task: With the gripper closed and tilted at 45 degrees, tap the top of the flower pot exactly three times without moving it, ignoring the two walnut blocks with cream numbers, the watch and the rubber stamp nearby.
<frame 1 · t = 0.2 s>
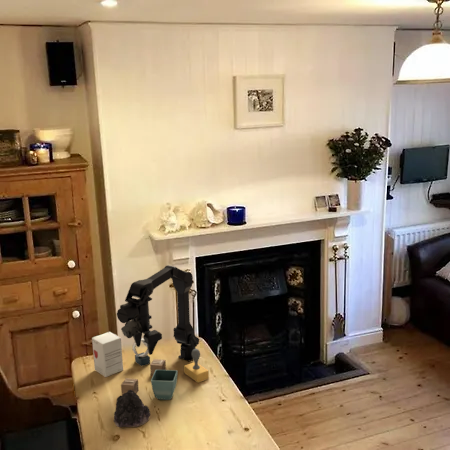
hand: (144, 350, 226), 14 cm above the table, tool pointing down, fingers open, 9 cm apart
watch: (142, 362, 246), on the table
numbered block seven: (158, 373, 237), on the table
numbered block one: (130, 393, 222), on the table
flower pot: (165, 397, 219), on the table
rubber stamp: (196, 376, 234), on the table
crystal cluster: (131, 419, 205), on the table
supplement box: (108, 370, 241), on the table
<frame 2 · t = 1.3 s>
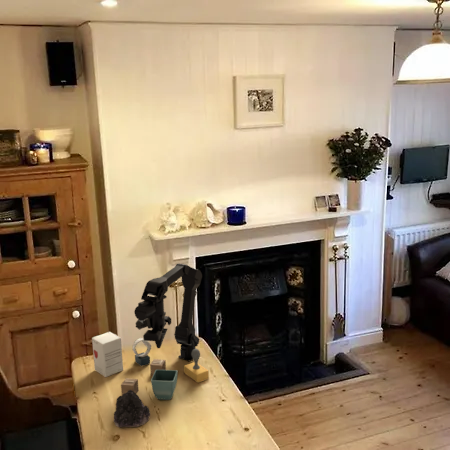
hand: (158, 347, 231), 13 cm above the table, tool pointing down, fingers closed
nothing on the table moved.
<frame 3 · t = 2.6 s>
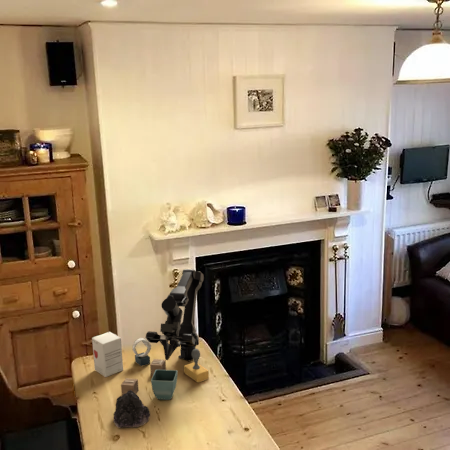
hand: (166, 359, 219), 14 cm above the table, tool tilted 45°, fingers closed
nothing on the table moved.
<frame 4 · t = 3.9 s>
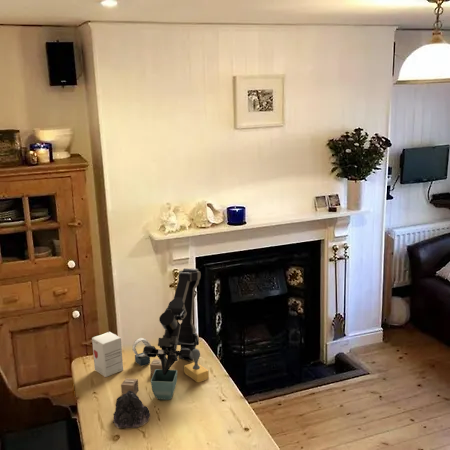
hand: (164, 374, 216), 9 cm above the table, tool tilted 45°, fingers closed, pressing on flower pot
flower pot: (165, 396, 219), on the table, touching gripper
everything else where it was.
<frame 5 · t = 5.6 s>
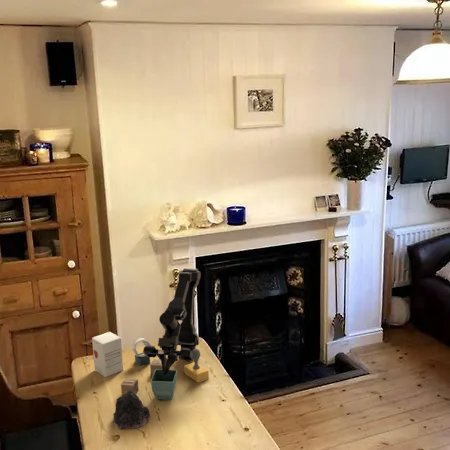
hand: (164, 374, 216), 9 cm above the table, tool tilted 45°, fingers closed, pressing on flower pot
flower pot: (165, 396, 219), on the table, touching gripper
everything else where it was.
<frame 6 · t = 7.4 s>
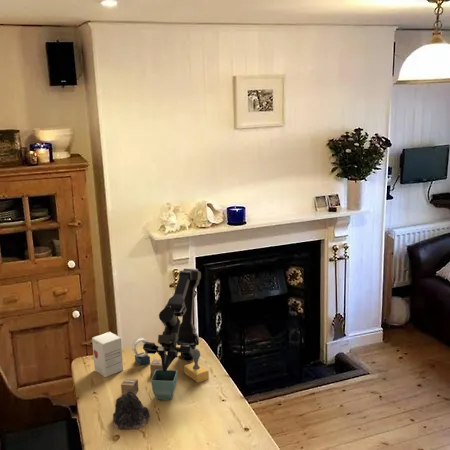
hand: (164, 371, 216), 11 cm above the table, tool tilted 45°, fingers closed
flower pot: (165, 396, 219), on the table
everything else where it was.
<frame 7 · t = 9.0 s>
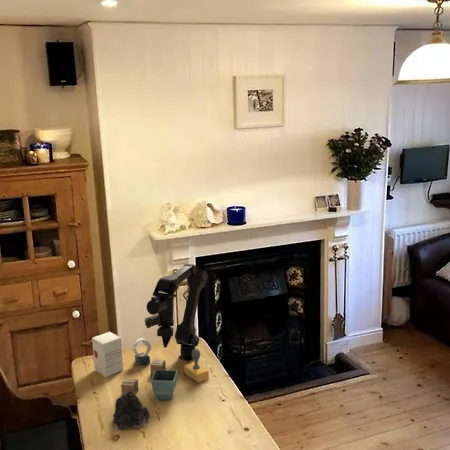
hand: (165, 347, 232), 13 cm above the table, tool pointing down, fingers closed
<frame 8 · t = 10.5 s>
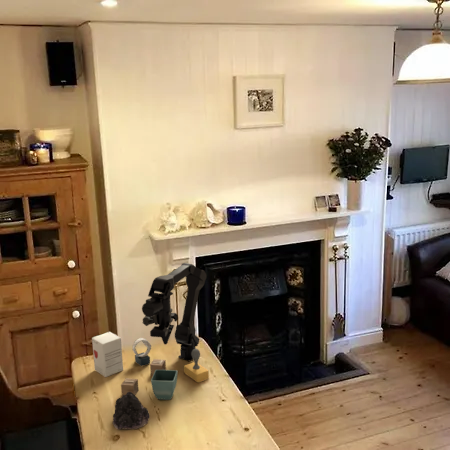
hand: (165, 344, 234), 13 cm above the table, tool pointing down, fingers closed
at the end: flower pot moved 0.2 cm from its start; flower pot tilted 0°; the gripper is holding nothing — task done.
